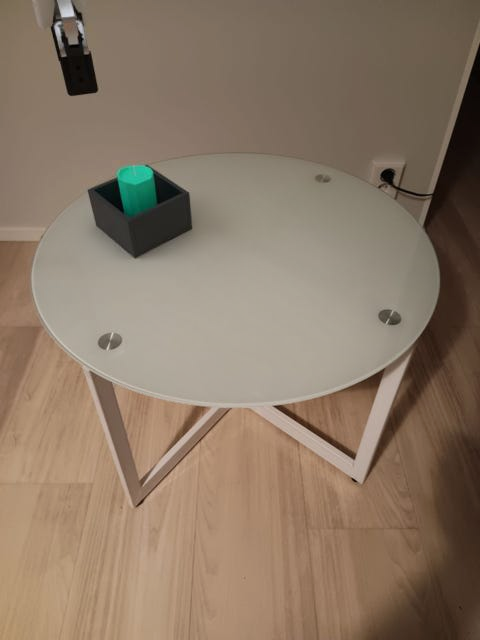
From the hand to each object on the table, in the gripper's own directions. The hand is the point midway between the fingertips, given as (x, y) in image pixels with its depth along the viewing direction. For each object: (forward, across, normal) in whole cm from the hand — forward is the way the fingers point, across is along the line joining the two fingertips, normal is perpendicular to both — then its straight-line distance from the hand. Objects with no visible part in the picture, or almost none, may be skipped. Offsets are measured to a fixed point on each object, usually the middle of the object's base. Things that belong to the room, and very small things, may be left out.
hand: (77, 76), depth 57 cm
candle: (+33, -16, +6) cm, 37 cm away
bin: (+33, -16, +6) cm, 37 cm away
